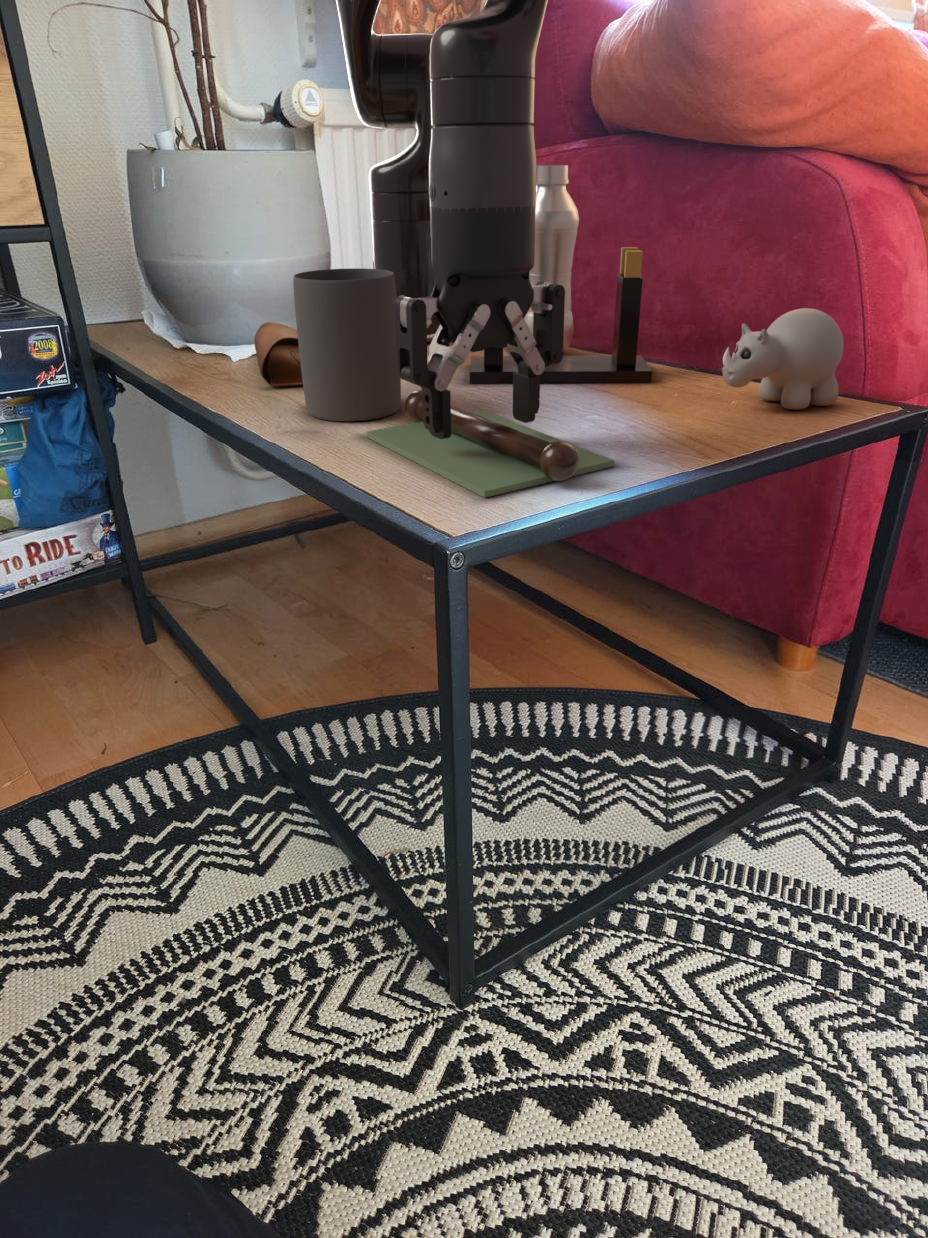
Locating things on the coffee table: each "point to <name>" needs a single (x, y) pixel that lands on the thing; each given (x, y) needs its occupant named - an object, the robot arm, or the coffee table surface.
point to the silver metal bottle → (554, 238)
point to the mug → (348, 343)
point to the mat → (476, 457)
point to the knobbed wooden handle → (506, 440)
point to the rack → (589, 368)
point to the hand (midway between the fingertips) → (483, 427)
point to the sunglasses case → (278, 355)
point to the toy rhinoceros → (789, 359)
